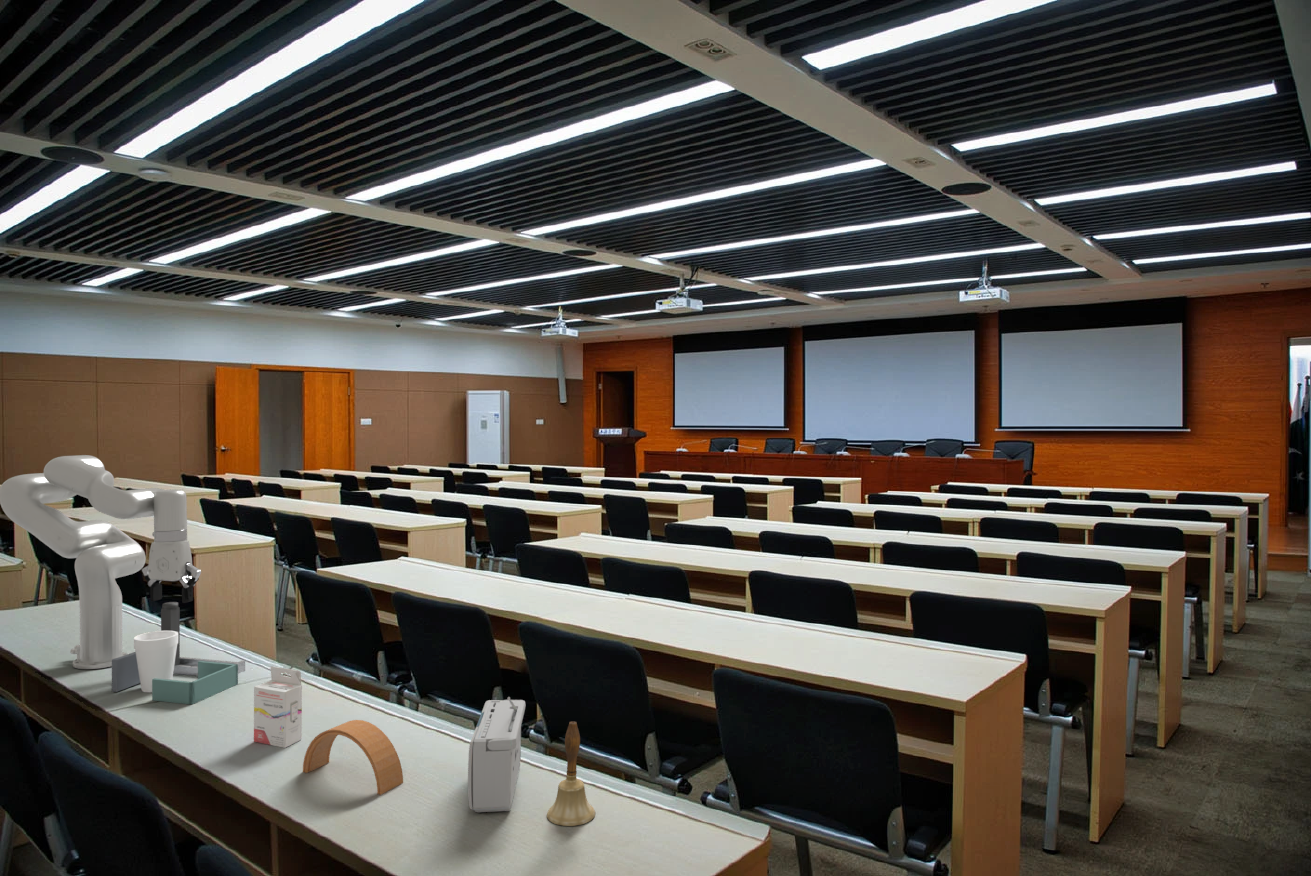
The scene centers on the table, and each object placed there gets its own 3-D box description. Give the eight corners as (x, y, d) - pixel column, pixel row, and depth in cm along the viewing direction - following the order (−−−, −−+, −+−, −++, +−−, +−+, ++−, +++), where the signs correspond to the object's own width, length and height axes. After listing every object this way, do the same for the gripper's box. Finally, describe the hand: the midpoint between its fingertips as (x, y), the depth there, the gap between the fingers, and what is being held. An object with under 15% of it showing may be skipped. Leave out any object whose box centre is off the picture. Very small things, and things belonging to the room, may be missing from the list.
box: (152, 700, 194) (152, 679, 194) (200, 680, 209) (200, 660, 209) (192, 704, 192) (192, 683, 192) (237, 684, 207) (237, 664, 207)
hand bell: (547, 804, 146) (548, 714, 145) (595, 803, 147) (596, 714, 146) (545, 827, 138) (546, 732, 137) (595, 826, 138) (596, 732, 138)
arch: (379, 796, 148) (380, 741, 148) (302, 772, 157) (302, 720, 157) (403, 783, 153) (403, 730, 153) (327, 761, 162) (327, 711, 162)
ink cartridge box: (252, 742, 171) (252, 672, 170) (270, 734, 175) (270, 665, 175) (285, 748, 168) (285, 676, 168) (303, 739, 173) (303, 670, 172)
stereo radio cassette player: (483, 765, 162) (483, 663, 161) (525, 764, 162) (526, 663, 162) (466, 817, 141) (467, 700, 140) (515, 816, 141) (516, 700, 141)
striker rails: (134, 669, 217) (134, 660, 217) (155, 661, 224) (155, 652, 224) (225, 678, 211) (225, 668, 211) (245, 670, 218) (245, 660, 218)
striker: (100, 690, 200) (100, 620, 200) (170, 664, 221) (169, 601, 220) (116, 691, 199) (116, 622, 199) (185, 665, 220) (185, 602, 219)
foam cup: (187, 682, 207) (186, 631, 207) (161, 695, 198) (161, 641, 198) (151, 681, 208) (151, 629, 208) (124, 693, 199) (124, 639, 199)
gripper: (131, 537, 216) (132, 602, 216) (187, 539, 212) (188, 605, 213) (154, 533, 223) (155, 596, 224) (209, 535, 219) (210, 599, 220)
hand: (171, 601), depth 218 cm, fingers open, 9 cm apart
